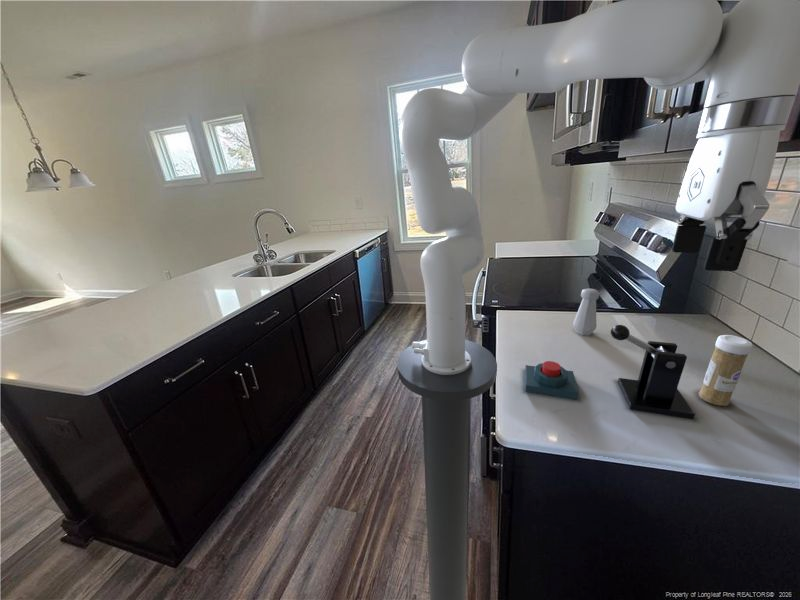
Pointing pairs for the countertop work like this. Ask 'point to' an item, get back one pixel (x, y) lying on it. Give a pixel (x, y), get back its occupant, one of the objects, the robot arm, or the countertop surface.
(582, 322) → the salt shaker
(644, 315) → the countertop surface
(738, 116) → the robot arm
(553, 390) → the stop block
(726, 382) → the sprinkles bottle
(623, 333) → the switch lever
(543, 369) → the stop button
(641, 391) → the switch bracket
